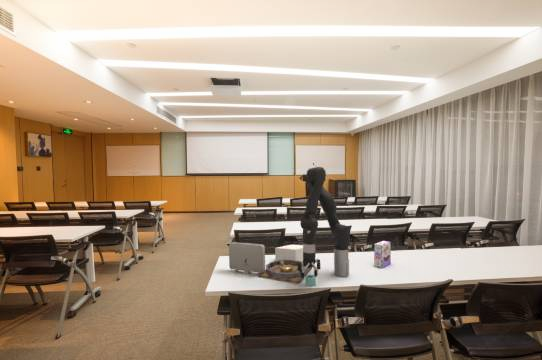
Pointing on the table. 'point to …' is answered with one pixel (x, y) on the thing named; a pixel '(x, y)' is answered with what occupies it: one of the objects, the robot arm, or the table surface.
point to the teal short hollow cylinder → (310, 280)
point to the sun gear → (286, 268)
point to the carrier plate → (277, 269)
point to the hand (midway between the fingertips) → (309, 277)
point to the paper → (289, 253)
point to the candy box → (382, 254)
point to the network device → (247, 258)
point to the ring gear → (283, 275)
